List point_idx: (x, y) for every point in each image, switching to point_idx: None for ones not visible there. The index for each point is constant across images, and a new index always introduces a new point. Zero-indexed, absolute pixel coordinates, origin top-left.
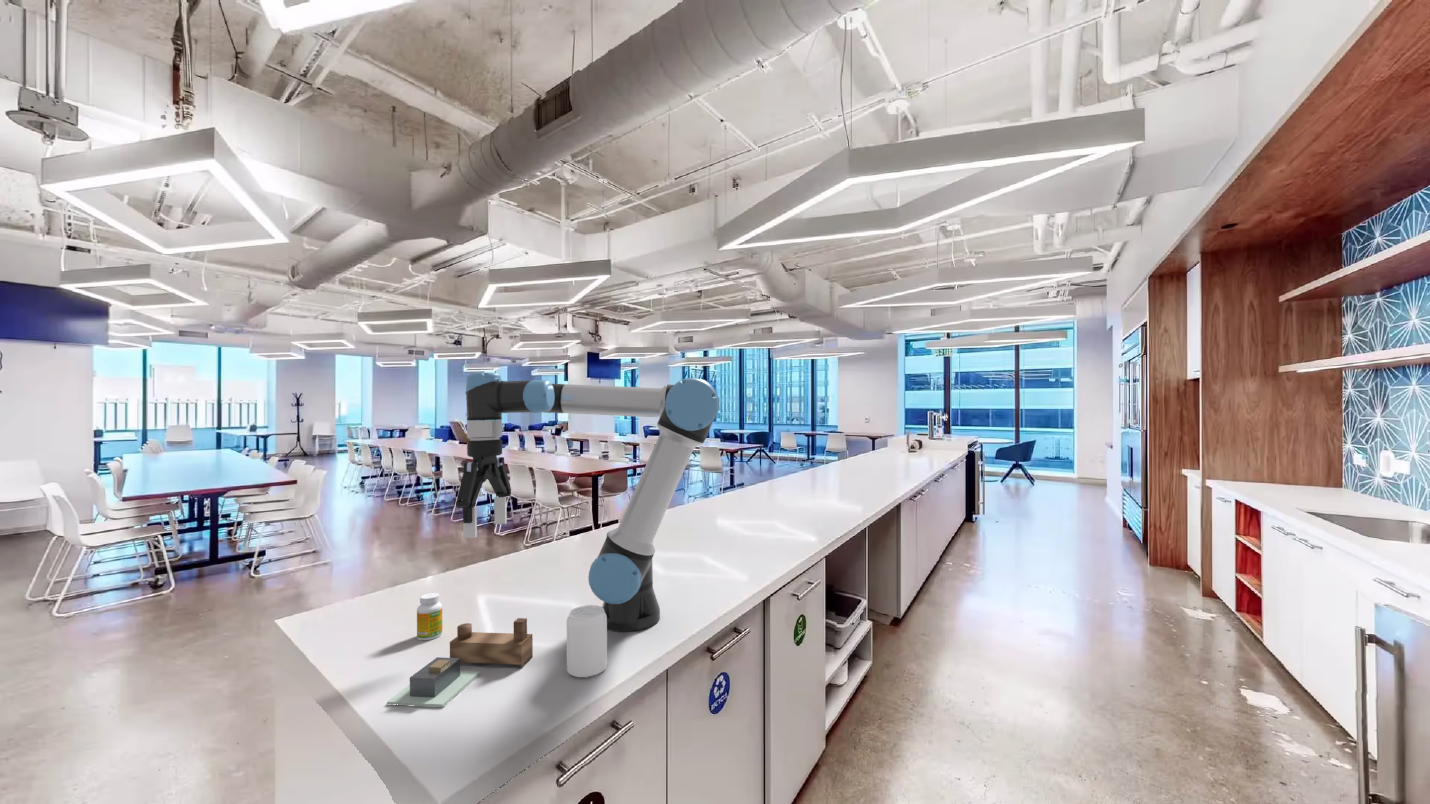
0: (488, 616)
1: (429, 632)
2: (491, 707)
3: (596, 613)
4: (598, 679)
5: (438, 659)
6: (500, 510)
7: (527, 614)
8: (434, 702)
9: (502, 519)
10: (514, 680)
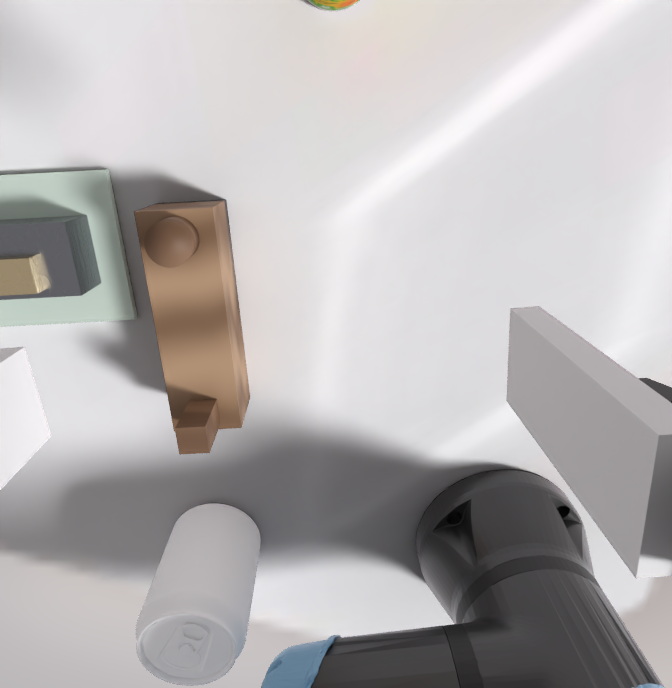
0: (522, 89)
1: None
2: None
3: (194, 666)
4: None
5: (55, 235)
6: (558, 422)
7: (539, 231)
8: None
9: (520, 397)
10: (136, 411)
